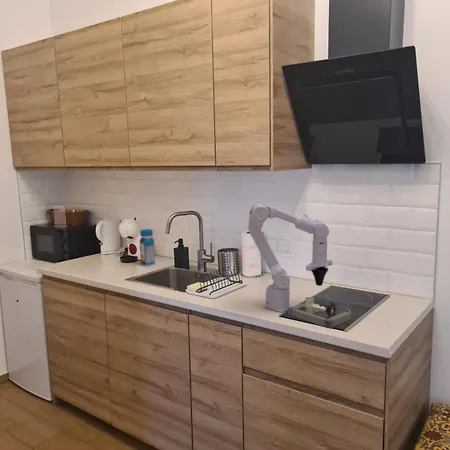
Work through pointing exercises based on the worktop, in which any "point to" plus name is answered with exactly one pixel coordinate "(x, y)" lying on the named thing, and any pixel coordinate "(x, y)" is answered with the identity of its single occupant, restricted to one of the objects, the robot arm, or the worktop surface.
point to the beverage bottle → (147, 248)
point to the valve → (312, 307)
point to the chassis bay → (329, 323)
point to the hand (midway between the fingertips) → (319, 285)
